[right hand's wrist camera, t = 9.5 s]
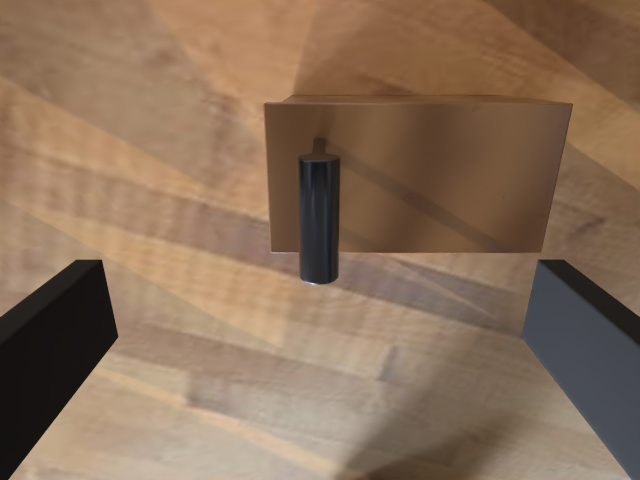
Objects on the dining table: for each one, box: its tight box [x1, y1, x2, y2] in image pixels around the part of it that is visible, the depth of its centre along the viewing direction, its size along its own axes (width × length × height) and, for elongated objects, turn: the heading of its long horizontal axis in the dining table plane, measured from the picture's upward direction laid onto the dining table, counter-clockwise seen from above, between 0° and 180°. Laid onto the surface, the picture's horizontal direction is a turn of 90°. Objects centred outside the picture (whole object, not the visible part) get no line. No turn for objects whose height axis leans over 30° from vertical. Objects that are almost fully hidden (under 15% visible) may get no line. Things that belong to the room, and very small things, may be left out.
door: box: [263, 102, 573, 284], centre depth 23 cm, size 18×10×9 cm, turn 90°
